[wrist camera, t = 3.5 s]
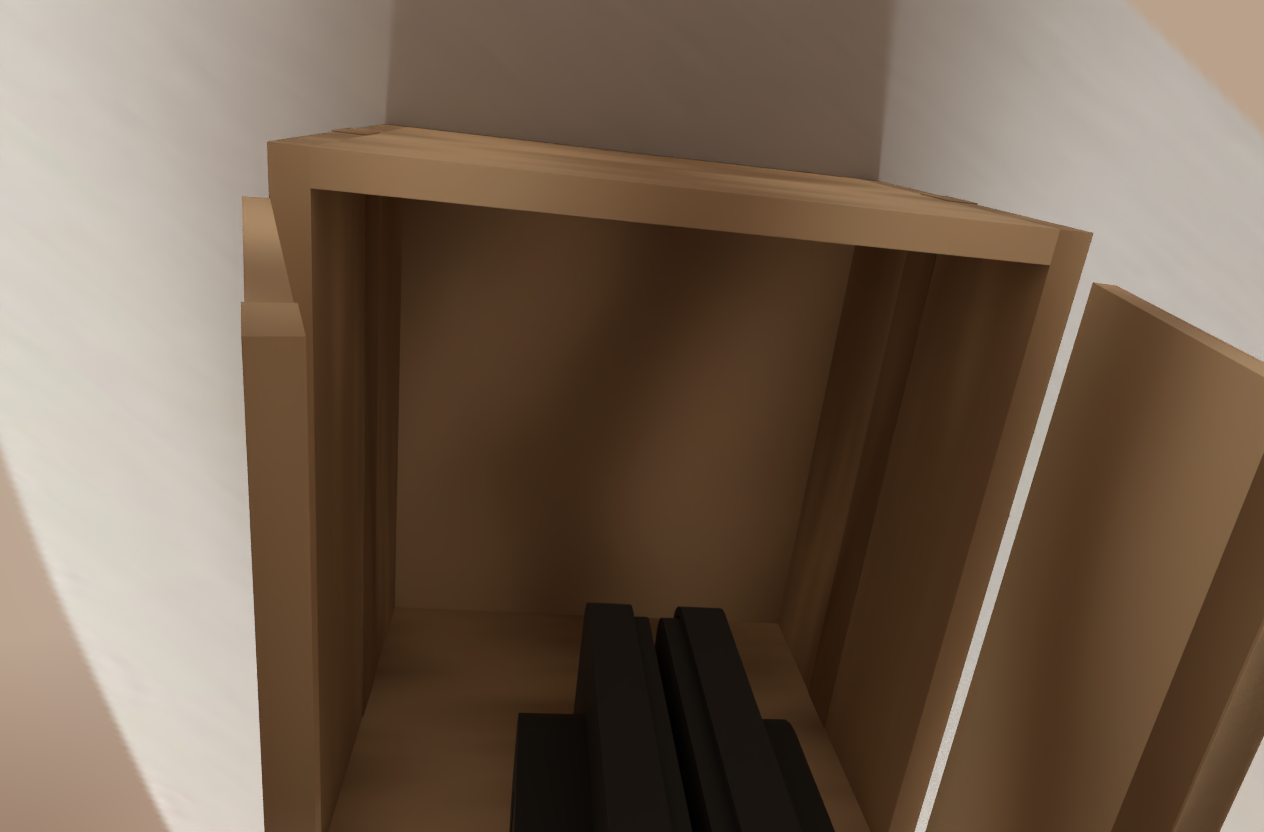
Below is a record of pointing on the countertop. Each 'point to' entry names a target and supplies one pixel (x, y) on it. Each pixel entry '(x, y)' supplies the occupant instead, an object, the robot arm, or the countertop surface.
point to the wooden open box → (646, 446)
